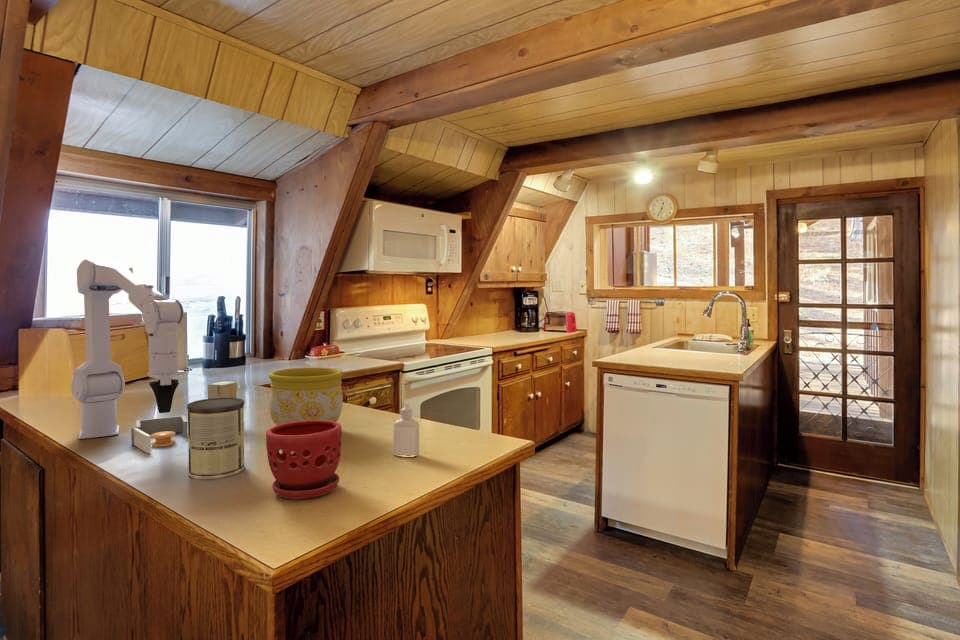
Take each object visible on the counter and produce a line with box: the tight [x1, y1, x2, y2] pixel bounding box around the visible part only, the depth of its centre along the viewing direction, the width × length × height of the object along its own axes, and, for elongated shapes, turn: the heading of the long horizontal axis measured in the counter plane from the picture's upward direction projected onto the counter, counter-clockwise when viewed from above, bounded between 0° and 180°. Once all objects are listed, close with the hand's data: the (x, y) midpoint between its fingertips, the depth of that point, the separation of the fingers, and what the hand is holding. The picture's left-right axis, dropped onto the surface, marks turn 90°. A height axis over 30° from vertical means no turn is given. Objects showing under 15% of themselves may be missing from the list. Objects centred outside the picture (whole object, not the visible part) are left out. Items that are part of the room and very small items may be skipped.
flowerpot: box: [268, 366, 344, 426], centre depth 132 cm, size 18×18×16 cm
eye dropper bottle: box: [393, 402, 420, 456], centre depth 116 cm, size 4×6×12 cm
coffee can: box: [186, 397, 246, 480], centre depth 104 cm, size 10×10×14 cm
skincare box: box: [207, 380, 237, 399], centre depth 138 cm, size 6×4×12 cm
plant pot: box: [265, 420, 343, 500], centre depth 94 cm, size 13×13×12 cm
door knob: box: [150, 431, 176, 447], centre depth 123 cm, size 5×5×2 cm
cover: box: [130, 426, 152, 454], centre depth 119 cm, size 1×11×4 cm, turn 49°
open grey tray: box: [135, 415, 188, 439], centre depth 129 cm, size 8×11×4 cm
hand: (164, 412), depth 117 cm, fingers closed
